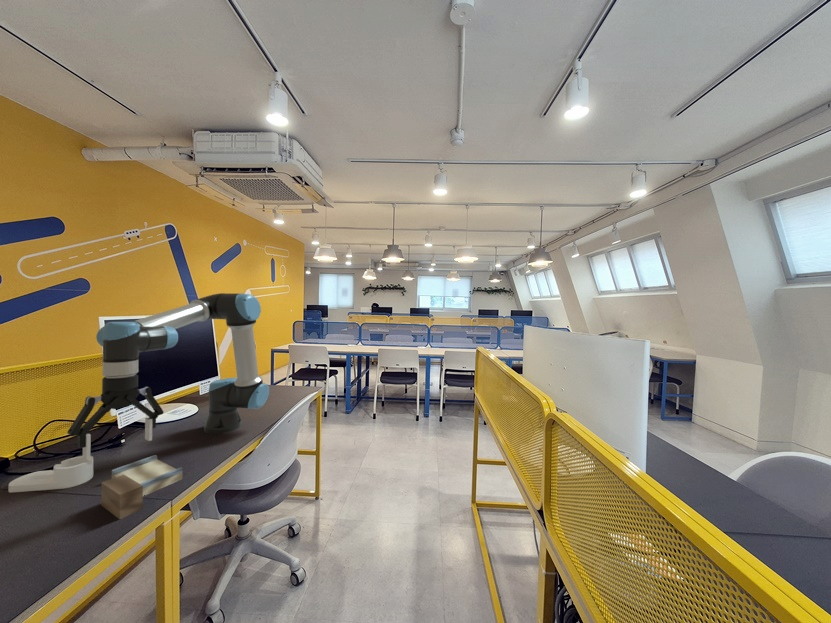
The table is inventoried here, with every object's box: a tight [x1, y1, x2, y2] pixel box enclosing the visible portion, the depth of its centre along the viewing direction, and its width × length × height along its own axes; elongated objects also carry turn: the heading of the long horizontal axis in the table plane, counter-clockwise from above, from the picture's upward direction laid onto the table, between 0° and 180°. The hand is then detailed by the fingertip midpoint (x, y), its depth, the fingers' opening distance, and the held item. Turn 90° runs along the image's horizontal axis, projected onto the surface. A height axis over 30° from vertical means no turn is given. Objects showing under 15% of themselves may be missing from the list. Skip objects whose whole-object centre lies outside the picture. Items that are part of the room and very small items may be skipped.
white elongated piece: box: [8, 455, 94, 493], centre depth 100 cm, size 20×9×7 cm, turn 101°
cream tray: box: [111, 454, 184, 497], centre depth 103 cm, size 12×18×4 cm, turn 63°
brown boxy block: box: [100, 474, 144, 520], centre depth 89 cm, size 5×12×7 cm, turn 63°
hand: (119, 448), depth 89 cm, fingers open, 13 cm apart
